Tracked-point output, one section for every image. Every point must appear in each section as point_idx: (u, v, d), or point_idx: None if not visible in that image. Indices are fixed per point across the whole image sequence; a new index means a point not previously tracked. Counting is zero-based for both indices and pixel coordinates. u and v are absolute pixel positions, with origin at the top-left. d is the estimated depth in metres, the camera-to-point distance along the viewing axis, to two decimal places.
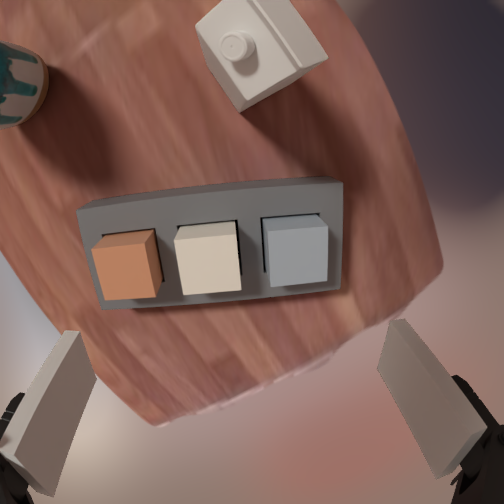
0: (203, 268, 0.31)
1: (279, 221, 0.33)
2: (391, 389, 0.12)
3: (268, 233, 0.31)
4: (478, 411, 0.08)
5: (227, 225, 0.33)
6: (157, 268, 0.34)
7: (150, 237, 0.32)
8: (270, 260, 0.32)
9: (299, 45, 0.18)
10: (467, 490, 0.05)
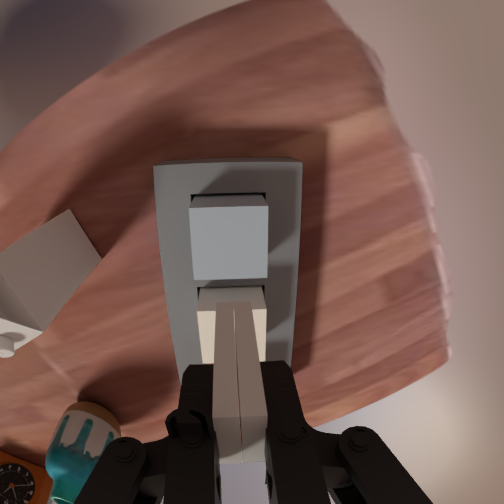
0: None
1: None
2: None
3: (196, 278, 0.26)
4: (285, 400, 0.09)
5: None
6: None
7: None
8: (230, 277, 0.26)
9: None
10: (272, 496, 0.07)
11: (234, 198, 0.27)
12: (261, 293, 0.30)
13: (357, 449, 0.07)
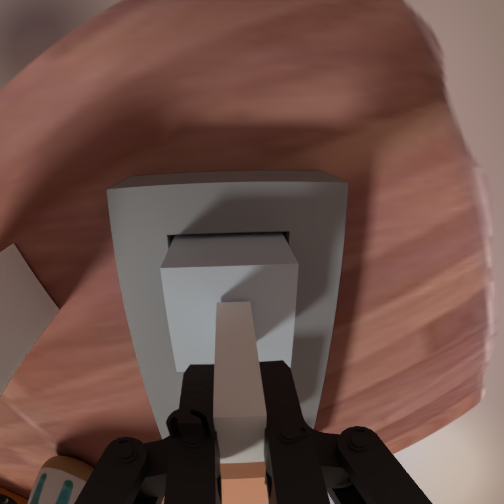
0: None
1: None
2: None
3: (181, 369, 0.16)
4: (285, 400, 0.09)
5: None
6: None
7: None
8: None
9: None
10: (271, 496, 0.07)
11: (238, 242, 0.17)
12: None
13: (356, 449, 0.07)
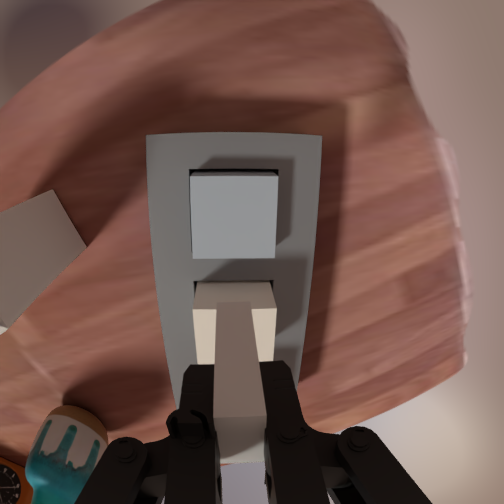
0: None
1: None
2: None
3: (196, 257, 0.23)
4: (284, 400, 0.09)
5: None
6: None
7: None
8: (234, 256, 0.23)
9: None
10: (271, 497, 0.07)
11: (240, 170, 0.24)
12: (270, 289, 0.25)
13: (356, 449, 0.07)
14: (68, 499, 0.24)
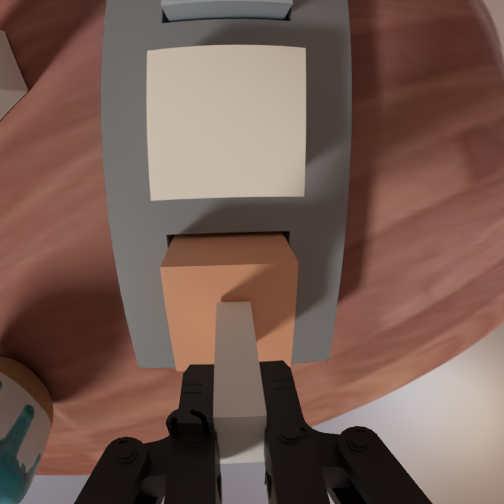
0: (233, 132, 0.11)
1: None
2: None
3: (166, 4, 0.11)
4: (285, 400, 0.09)
5: None
6: (248, 241, 0.16)
7: (172, 247, 0.16)
8: None
9: None
10: (271, 496, 0.07)
11: None
12: None
13: (356, 449, 0.07)
14: None
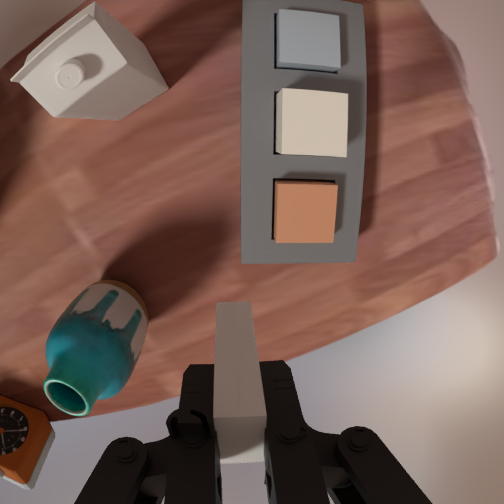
0: (318, 128, 0.26)
1: (276, 54, 0.28)
2: None
3: (282, 61, 0.26)
4: (284, 400, 0.09)
5: (278, 100, 0.28)
6: (312, 180, 0.33)
7: (276, 180, 0.32)
8: (311, 63, 0.26)
9: None
10: (271, 497, 0.07)
11: None
12: None
13: (356, 449, 0.07)
14: (97, 369, 0.27)
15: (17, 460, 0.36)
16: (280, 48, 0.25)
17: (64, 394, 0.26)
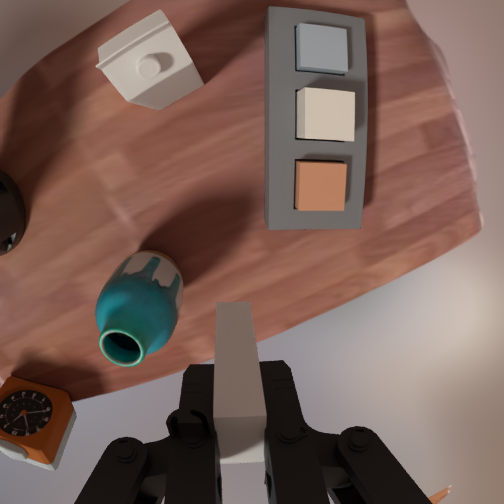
0: (332, 118, 0.33)
1: (295, 59, 0.35)
2: None
3: (302, 66, 0.33)
4: (284, 400, 0.09)
5: (299, 96, 0.35)
6: (325, 161, 0.40)
7: (297, 160, 0.39)
8: (325, 67, 0.33)
9: (150, 26, 0.22)
10: (271, 497, 0.07)
11: None
12: None
13: (356, 449, 0.07)
14: (150, 320, 0.33)
15: (42, 439, 0.43)
16: (301, 55, 0.32)
17: (114, 349, 0.33)
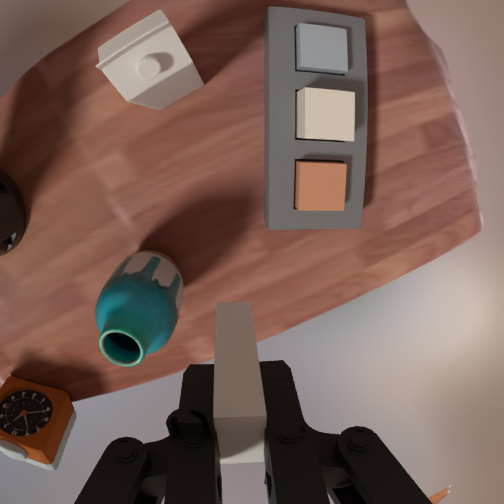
0: (332, 118, 0.33)
1: (295, 59, 0.35)
2: None
3: (302, 66, 0.33)
4: (284, 400, 0.09)
5: (299, 96, 0.35)
6: (325, 161, 0.40)
7: (297, 160, 0.39)
8: (325, 67, 0.33)
9: (150, 26, 0.22)
10: (271, 496, 0.07)
11: None
12: None
13: (356, 449, 0.07)
14: (149, 320, 0.33)
15: (42, 439, 0.43)
16: (301, 55, 0.32)
17: (114, 350, 0.33)
